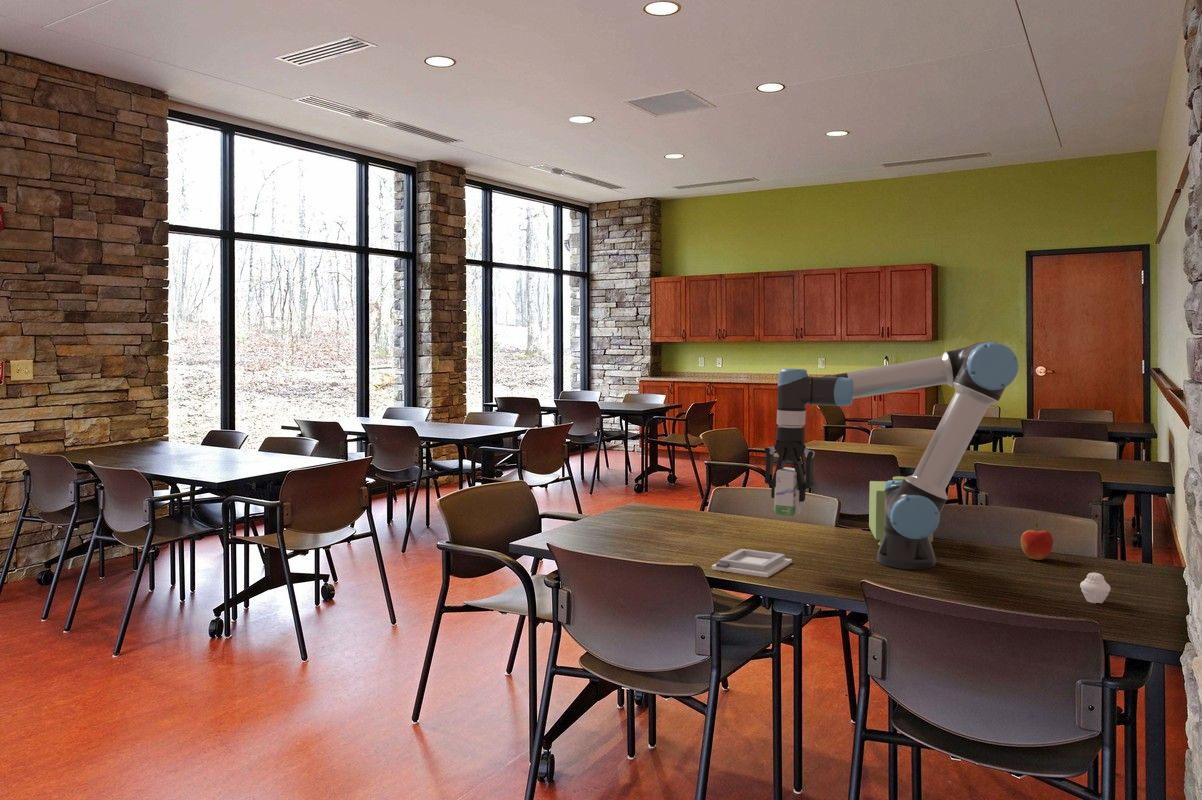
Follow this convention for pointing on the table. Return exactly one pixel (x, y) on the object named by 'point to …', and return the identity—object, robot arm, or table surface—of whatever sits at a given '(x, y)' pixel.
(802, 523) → the table surface
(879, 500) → the container
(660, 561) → the table surface
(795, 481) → the ink box
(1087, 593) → the muffin
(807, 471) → the robot arm
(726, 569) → the white square tray
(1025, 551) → the apple
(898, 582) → the table surface
